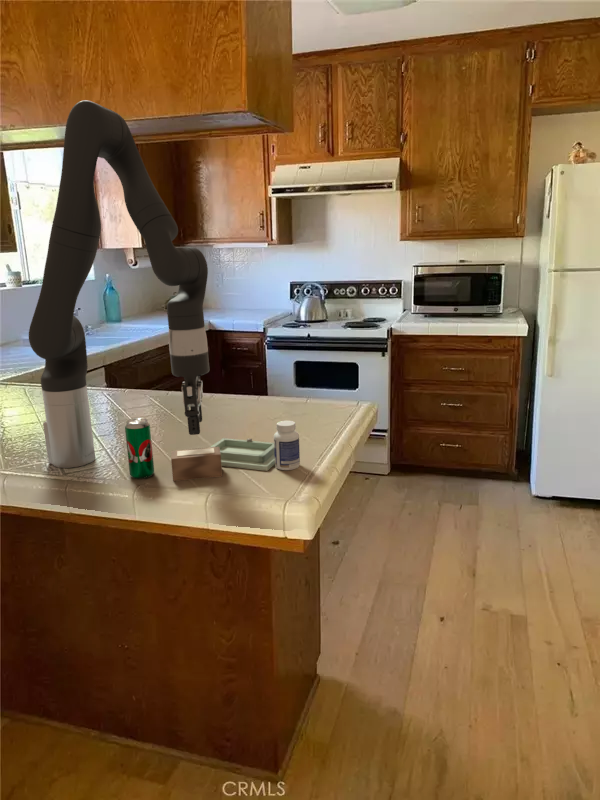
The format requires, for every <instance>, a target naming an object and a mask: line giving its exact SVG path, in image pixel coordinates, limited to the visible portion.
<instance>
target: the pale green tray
mask: <svg viewBox="0 0 600 800" xmlns="http://www.w3.org/2000/svg"><path fill="white" fill-rule="evenodd" d="M210 447H219V448H220V454H221V467H229V468H237V469H248V470H256V471H257V470H258V471H266V472H268V471H269V470H270V469H271V468H272V467H273V466H275V455H274V442H270V441H259V440H253V439H252V438H246V439H235V438H227V437H222V438H221V439H220V440H218V441H216V442H215V443H213V445H211V446H210Z"/></svg>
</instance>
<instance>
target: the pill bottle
mask: <svg viewBox="0 0 600 800" xmlns="http://www.w3.org/2000/svg"><path fill="white" fill-rule="evenodd" d="M296 427H297V426H296V422H295V421H293V420H281V421H278V422H277V423H276V428H275V429H276V431H275V433H274V434H273V443H274V455H275V464H274V467H275V468H276V469H278V470H281V471H291V470H295V469H297V468H299V467H300V465H301V464H300V463H301V461H300V460H301V459H300V457H301V456H300V435H299V432H298V431H296Z"/></svg>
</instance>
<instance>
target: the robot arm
mask: <svg viewBox="0 0 600 800" xmlns="http://www.w3.org/2000/svg"><path fill="white" fill-rule="evenodd" d="M63 138H64V140H63V152H62V153H63V154H62V164H61V165H62V166H61V174H60V180H59V186H58V192H57V194H58V195H57V200H56V206H55V211H54V215H53V219H52V220H53V221H52V225H51V230H50V235H49V241H48V245H47V246H48V247H47V254H46V259H45V264H44V271H43V276H42V283H41V288H40V293H39V296H38V300H37V303H36V306H35V309H34V313H33V316H32V319H31V323H30V325H29V329H28V342H29V345H30V348H31V349H32V351H33V352H34V353H35V355H36V356H38V357H40V358H41V359H43V360H45V363H44V364H45V365H44V369H43V372H42V374H41V376H40V385H41V393H42V400H43V401H42V402H43V405H44V406H43V407H44V408H43V409H44V414H45V420H46V421H44V422H43V424H42V425H43V433H44V441H45V447H46V454H47V462H48V464H51V465H52V466H53V467H57V468H62V469H64V468H65V469H67V468H68V469H69V468H77V467H82V466H85V465H88V464H91V463H92V462H94V460H96V452H95V444H94V435H93V427H92V426H93V425H92V418H91V411H90V409H91V408H90V401H89V395H88V386H87V374H88V368H89V367H88V354H87V341H86V335H85V330H84V327H83V324H82V323H81V321H80V320H79V318H77V317H76V316H75V310H76V304H77V300H78V297H79V294H80V291H81V290H82V288H83V285H84V284H85V282H86V280H87V278H88V276H89V274H90V272H91V270H92V267H93V265H94V262H95V259H96V255H97V252H98V248H99V243H100V238H101V231H102V223H101V222H102V221H101V214H100V210H99V206H98V202H97V201H98V200H97V198H96V197H97V196H96V192H95V174H96V167H97V163H98V158H100V159H104V160H105V162H107V164H108V165H109V166H110V168H111V169H112V170H113V171H114V172H115V174H116V176H117V178H118V180H119V181H120V184H121V186H122V190H123V197H124V203H125V208H126V210H127V212H128V215H129V217H130V218H131V220H132V223H133V224H134V226H135V227H136V228H137V230H138V232H139V234H140V235H141V237H142V239H143V241H144V243H145V247H146V251H147V254H148V259H149V261H150V265H151V268H152V271H153V273H154V275H155V276H156V277H157V279H158V280H159V281H160V282H161V283H163V284H164V285H165V286H168V287H177V286H178V291H177V295H176V296H175V297H173V298H172V299H170V300H169V301H168V302H167V304H166V314H167V325H168V347H169V348H168V350H169V356H170V366H171V367H170V368H171V369H170V370H171V373H172V374H171V375H173V376H175V377H177V378H180V377H182V378H183V379H184V381H182V384H181V392H182V401H183V402H182V403H183V406H184V415H185V416H184V417H185V418H187V427H188V428H187V429H188V434H189V436H197V435H200V433H201V426H200V424H201V422H203V411H202V410H203V409H202V403H203V400H202V399H203V396H204V395H203V389H204V387H203V386H204V385H203V380H201V376H204V375H206V374H209V372H210V362H209V361H210V360H209V349H208V338H207V332H206V328H205V317H204V315H205V314H204V300H205V296H206V290H207V283H208V277H209V276H208V275H209V267H208V263H207V260H206V256H205V255H204V254H203V252H202V251H201V250H200V249H199V248H196V247H192V246H183V247H176V246H175V245H174V243H173V241H174V240H175V239H176V238H177V236H178V234H179V228H178V224H177V222H176V220H175V219H174V217H173V216H172V214H171V212H170V211H169V209H168V207H167V205H166V204H165V202H164V200H163V199H162V197H161V195H160V194H159V192H158V190H157V188H156V187H155V185H154V183H153V181H152V179H151V177H150V174H149V172H148V171H147V168H146V166H145V164H144V161H143V159H142V156H141V154H140V152H139V149H138V147H137V144H136V142H135V140H134V137H133V134H132V131H131V130H130V128H129V126H128V123H127V122H126V120H125V118H124V117H122V115H120V114H119V113H118V112H116V111H114V110H112V109H109V108H108V107H105V106H102V105H101V104H99V103H96V102H93V101H91V100H86V99H85V100H81V101H78V102H76V104H74V106H73V107H72V108H71V110H70V112H69V114H68V117H67V119H66V122H65V130H64V137H63Z"/></svg>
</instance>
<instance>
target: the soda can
mask: <svg viewBox="0 0 600 800" xmlns="http://www.w3.org/2000/svg"><path fill="white" fill-rule="evenodd" d="M124 433H125V434H124V435H125V443H126V444H125V445H126V452H127V453H126V454H127V460H128V461H127V462H128V469H129V471H128V472H129V476H130V477H132V479H137V480H142V479H148V478H150V477H152V476H153V475H154V473H155V463H154V454H153V443H152V442H153V441H152V433H151V424H150V423H149V420H148V419H147V418H145V417H136V418H135V417H134V418H130V419H127V420H126V421H125V426H124Z"/></svg>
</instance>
